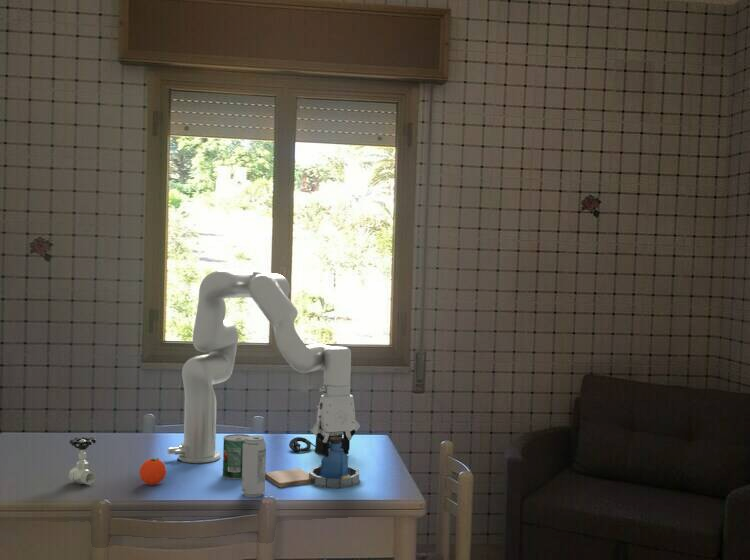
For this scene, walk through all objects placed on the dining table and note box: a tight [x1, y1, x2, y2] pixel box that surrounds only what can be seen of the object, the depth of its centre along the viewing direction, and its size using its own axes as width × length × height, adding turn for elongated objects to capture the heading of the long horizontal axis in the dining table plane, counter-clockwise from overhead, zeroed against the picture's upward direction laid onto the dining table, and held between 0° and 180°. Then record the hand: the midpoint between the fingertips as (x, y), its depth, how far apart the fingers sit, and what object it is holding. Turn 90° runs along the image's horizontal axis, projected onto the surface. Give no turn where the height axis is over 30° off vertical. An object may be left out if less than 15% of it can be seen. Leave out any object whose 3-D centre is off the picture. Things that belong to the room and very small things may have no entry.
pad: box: [265, 467, 312, 488], centre depth 211 cm, size 11×11×1 cm
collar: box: [308, 463, 360, 489], centre depth 211 cm, size 14×14×3 cm
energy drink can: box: [241, 435, 267, 498], centre depth 196 cm, size 6×6×15 cm
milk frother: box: [288, 404, 343, 455], centre depth 242 cm, size 14×16×15 cm
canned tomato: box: [222, 433, 250, 480], centre depth 213 cm, size 8×8×11 cm
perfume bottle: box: [320, 437, 349, 478], centre depth 211 cm, size 6×6×12 cm
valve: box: [68, 436, 97, 486], centre depth 201 cm, size 7×7×12 cm
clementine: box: [139, 457, 167, 486], centre depth 203 cm, size 8×7×7 cm
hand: (335, 453), depth 211 cm, fingers closed on perfume bottle, 5 cm apart
